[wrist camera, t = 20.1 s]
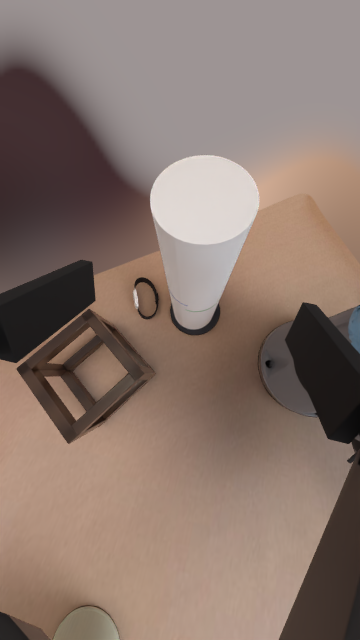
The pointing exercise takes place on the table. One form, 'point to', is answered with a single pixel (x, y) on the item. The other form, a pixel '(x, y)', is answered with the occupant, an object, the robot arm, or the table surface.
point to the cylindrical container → (201, 230)
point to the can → (87, 625)
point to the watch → (137, 297)
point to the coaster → (201, 330)
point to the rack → (50, 401)
